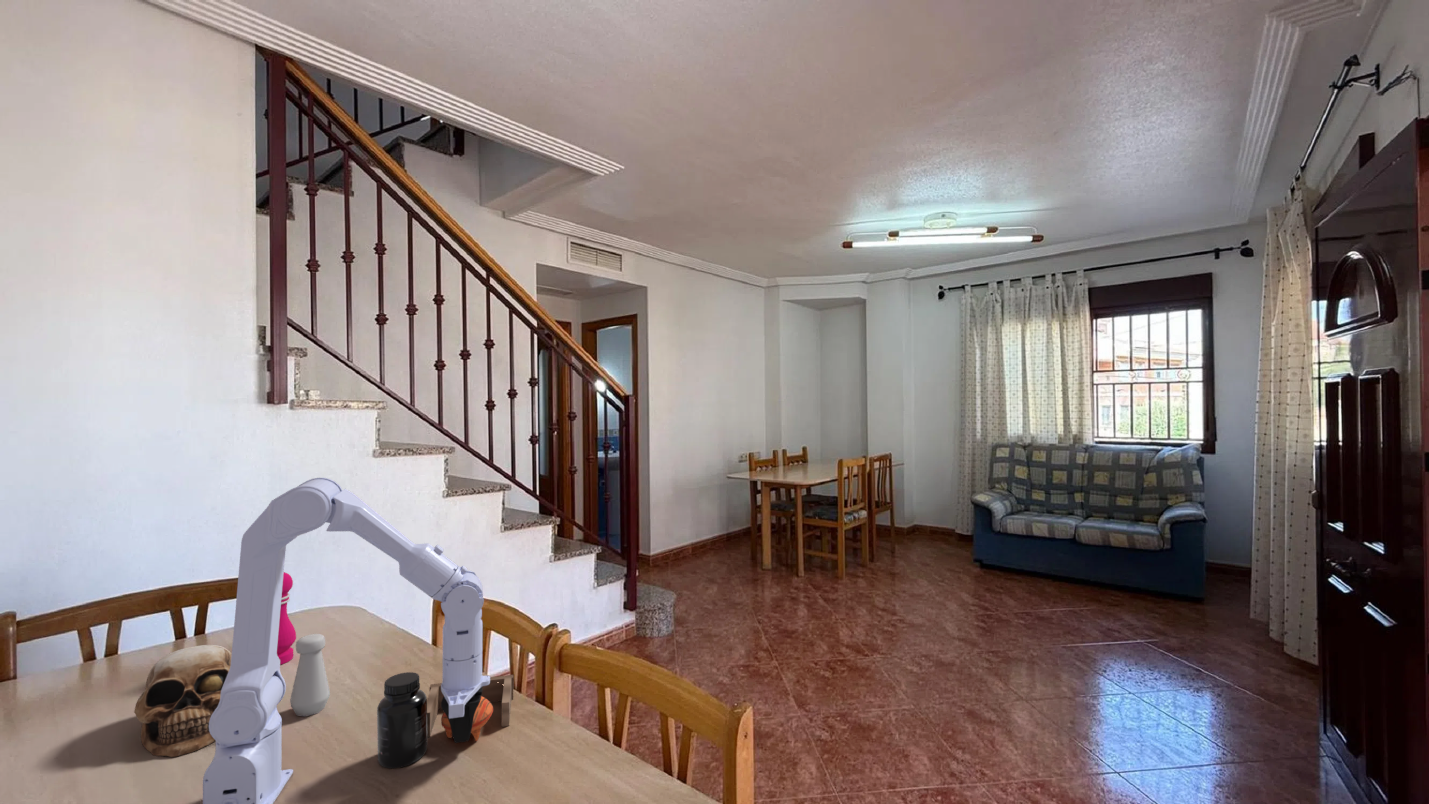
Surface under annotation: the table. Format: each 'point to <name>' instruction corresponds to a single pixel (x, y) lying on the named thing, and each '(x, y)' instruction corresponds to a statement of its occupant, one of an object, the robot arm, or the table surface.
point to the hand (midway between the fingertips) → (462, 739)
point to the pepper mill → (285, 624)
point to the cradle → (489, 692)
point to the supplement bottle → (402, 721)
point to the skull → (182, 699)
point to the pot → (479, 718)
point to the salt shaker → (310, 677)
